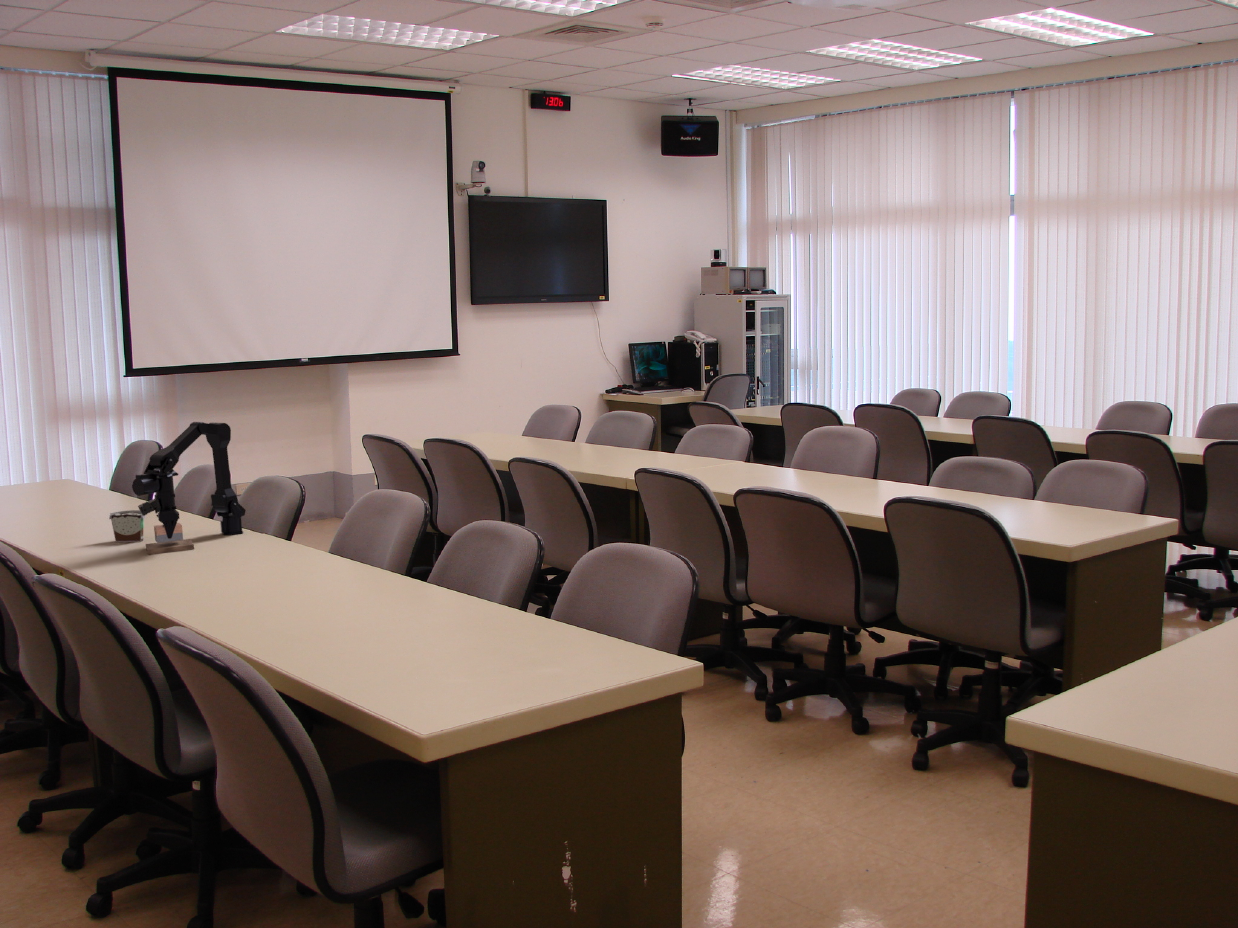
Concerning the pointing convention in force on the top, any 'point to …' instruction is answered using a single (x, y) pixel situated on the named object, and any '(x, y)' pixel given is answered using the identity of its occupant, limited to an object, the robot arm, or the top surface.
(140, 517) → the food container
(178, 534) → the block
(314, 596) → the top surface
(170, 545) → the walnut stand
